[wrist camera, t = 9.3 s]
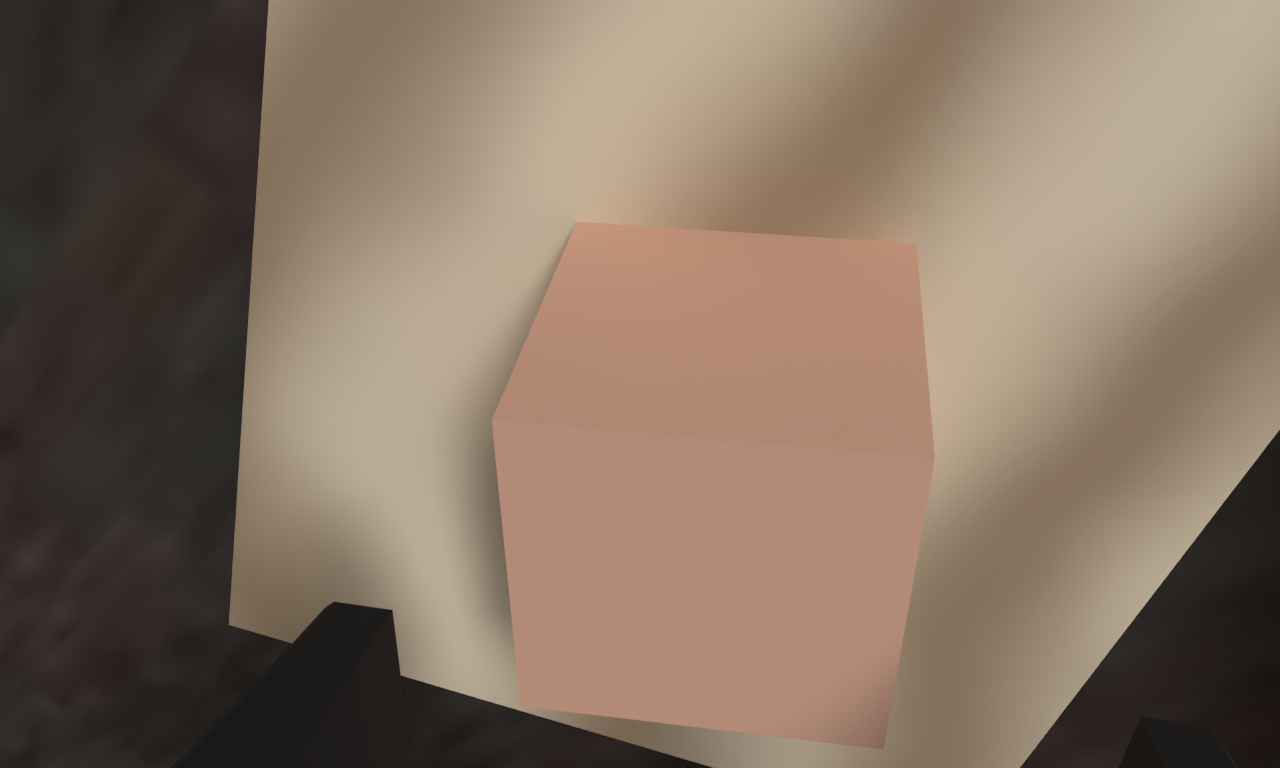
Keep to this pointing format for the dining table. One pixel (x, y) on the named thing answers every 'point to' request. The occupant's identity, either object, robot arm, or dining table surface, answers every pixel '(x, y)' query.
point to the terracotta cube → (718, 480)
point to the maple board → (783, 205)
